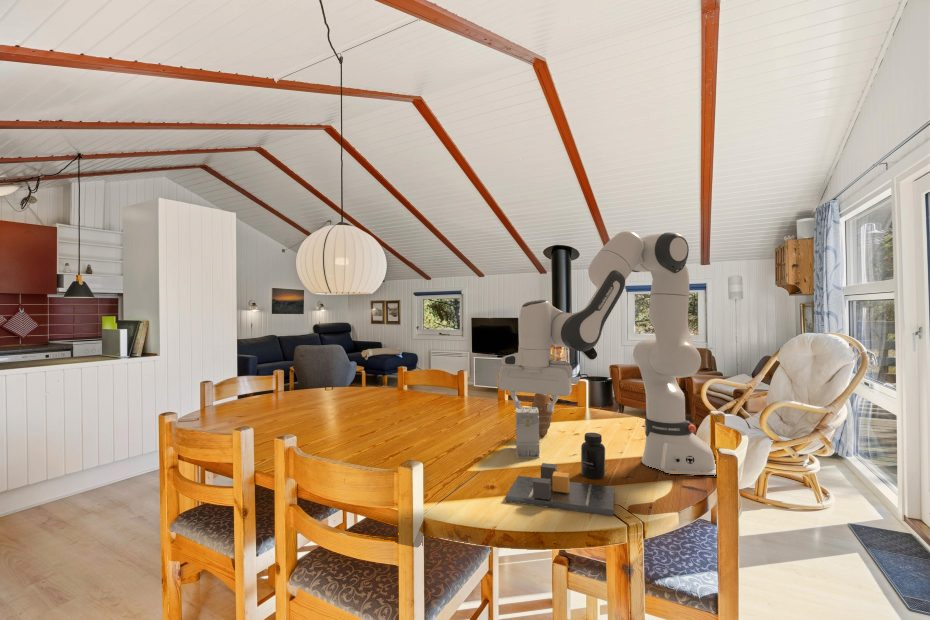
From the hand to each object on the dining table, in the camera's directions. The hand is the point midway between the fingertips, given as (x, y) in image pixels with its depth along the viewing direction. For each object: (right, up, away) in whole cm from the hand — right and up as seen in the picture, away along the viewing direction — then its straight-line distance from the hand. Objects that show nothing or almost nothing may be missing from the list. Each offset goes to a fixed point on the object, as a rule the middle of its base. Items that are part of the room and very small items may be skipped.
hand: (533, 409), depth 120 cm
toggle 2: (+1, -20, -10) cm, 22 cm away
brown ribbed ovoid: (+11, -22, +49) cm, 54 cm away
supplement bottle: (+19, -22, +9) cm, 30 cm away
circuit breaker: (+3, -22, +32) cm, 38 cm away
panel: (+6, -22, -6) cm, 23 cm away
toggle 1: (+4, -20, +1) cm, 20 cm away
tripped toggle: (+6, -20, -6) cm, 21 cm away
